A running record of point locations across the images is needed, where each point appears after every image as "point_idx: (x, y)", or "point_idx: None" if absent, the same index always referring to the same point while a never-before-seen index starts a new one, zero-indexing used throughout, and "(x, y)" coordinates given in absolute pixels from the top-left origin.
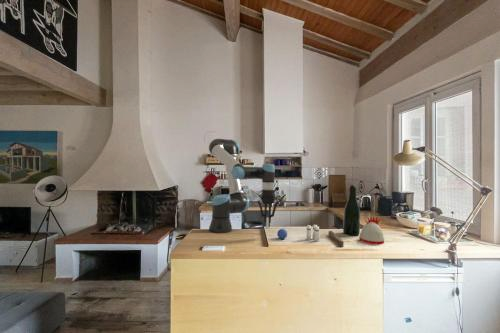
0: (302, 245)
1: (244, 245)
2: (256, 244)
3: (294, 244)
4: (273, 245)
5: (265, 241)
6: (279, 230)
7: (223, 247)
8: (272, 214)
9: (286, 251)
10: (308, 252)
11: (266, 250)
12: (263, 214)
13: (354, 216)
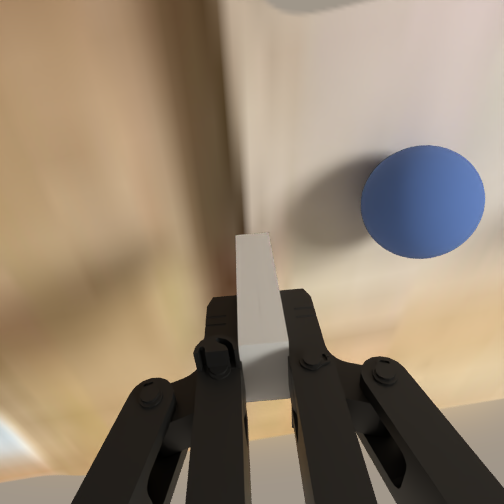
0: (499, 312)
1: (110, 384)
2: (182, 356)
3: (451, 305)
4: None
5: None
6: (399, 241)
7: (8, 430)
8: (375, 453)
9: None
10: (472, 401)
11: (254, 419)
12: (179, 436)
13: None
